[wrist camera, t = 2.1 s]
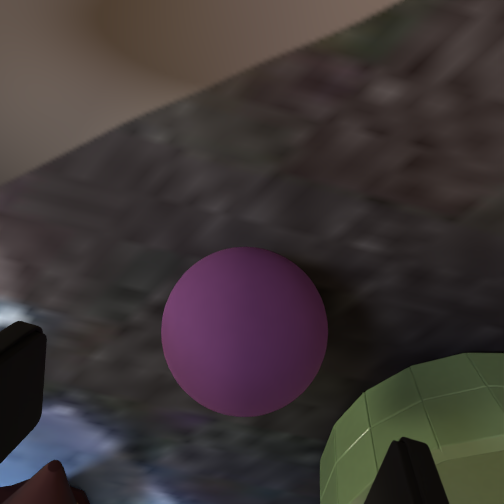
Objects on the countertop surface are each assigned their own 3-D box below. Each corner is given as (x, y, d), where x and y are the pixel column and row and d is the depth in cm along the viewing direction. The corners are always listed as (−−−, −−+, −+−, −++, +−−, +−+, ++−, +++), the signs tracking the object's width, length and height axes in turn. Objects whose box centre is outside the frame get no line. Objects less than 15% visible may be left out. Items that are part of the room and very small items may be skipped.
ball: (204, 213, 16) (144, 258, 11) (344, 250, 16) (358, 319, 10) (181, 333, 18) (120, 425, 13) (305, 370, 18) (298, 482, 12)
